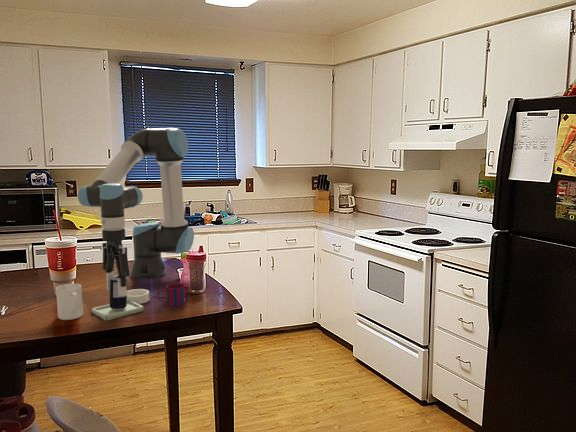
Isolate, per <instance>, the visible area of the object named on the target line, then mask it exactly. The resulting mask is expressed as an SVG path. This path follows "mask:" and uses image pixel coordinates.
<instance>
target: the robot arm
mask: <svg viewBox="0 0 576 432" xmlns="http://www.w3.org/2000/svg"><path fill="white" fill-rule="evenodd" d="M188 153H189V141H188V138H187V135H186V134H185V132H184V131H183V130H182V129H180V128H175V127H166V128H165V127H164V128H163V127H160V128H159V127H158V128H152V127H151V128H149V127H147V128H144V129H141V130H139V131H136V132H135V133H133V134H132V135H130V136H129V137H128V138H127V139H126V140H125V141H124V142H123V143H122V145H121V147H120V151H119V152H118V153H117V154H116V155H115V156H114V158H113V159H112V160H111V161H110V163H109V164H108V165H107V166H106V167H105V168H104V169H103V171H102V172H101V173H100V174H99V175H98V177H97V178H96V179H95V180H94V181H93V182H92V184H91V185H85V186H81V187H80V188H79V190H78V193H77V200H78V202H79V204H80V205H81V206H83V207H88V208H89V207H90V208H100V211H101V213H100V215H101V216H100V218H101V220H100V223H101V228H102V231H101V235H102V236H101V237H102V238H101V239H102V241H103V242H102V270H104V272H105V275H106V291H107V292H110V279H111V277H112V275H114V274H116V273H115V271H116V270H117V274H118V275H119V276H118V277H117V278H118V296H124V295H127V291H128V287H127V288H126V277H127V278H128V277H129V276H130V277H132V278H134V279H139V280H141V279H142V280H143V279H145V280H146V279H156V278H159V277H162V276H165V275H166V274H167V271H166V270H167V269H166V266H165V263H164V261H163V258H162V253H163V254H164V253H165V254H176V255H178V254H184V253H183V252H186V251H188V252H190V250H191V249H192V246H193V244H194V239H195V231H194V228H193V227H191V226H189V221H188V220H186V219H185V212H184V211H185V210H184V209H185V208H184V196H183V195H184V194H183V182H182V167H181V166H182V163H183V162H184V161H185V157H186V156H187V155H188ZM145 157H155V162H156V163H157V164H158V165H159V170H160V171H159V173H160V183H161V184H160V185H161V195H162V197H161V199H162V210H163V220H162V221H161V223H160V222H158V221H154V222H153V221H151V222H146V223H140V224H136V225H135V226H134V227H133V229H132V239H133V240H132V241H133V261H132V265H131V268H130V269H129V260H128V248H127V247H124V246H123V243H122V242H123V241H124V240H125V239H126V229H125V227H126V222H125V220H126V219H125V210H126V209H130V208H134V207H137V206H138V205H140V204H141V203H142V201H143V196H144V195H143V192H142V191H141V190H142V189H140V188H139V187H137V186H134V185H128V186H123V184H121V182H122V181H123V179H125V177H126V176H127V174H128V173H129V172H130V171H131V169H132V168H133V167H134V166H135V164H136V163H138V162H140V161H142V160H143V158H145ZM115 265H116V266H115ZM114 267H116V269H115V268H114Z"/></svg>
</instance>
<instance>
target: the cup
mask: <svg viewBox="0 0 576 432" xmlns="http://www.w3.org/2000/svg"><path fill="white" fill-rule="evenodd" d="M185 287H186V286H185V284H184V283H177V282H176V283H169V284H166V287H165V288H161V289H158V291H157V299H158V300H159V302H161V303H164V304H166V305H167V306H168V307H181V306H183V305H185V304H186V289H185ZM161 291H164V292H165V294H166V297H165V298H166V300H162V299H161V298H160V293H161Z"/></svg>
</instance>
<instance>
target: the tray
mask: <svg viewBox="0 0 576 432" xmlns="http://www.w3.org/2000/svg"><path fill="white" fill-rule="evenodd" d="M144 307H145V306H143V305H142V304H137V303H135V302H133V301H131V300H127V306H126V307H125V308H124V309H123V310H119V311H116V310H112V309H111V308H110V303H108V304H104V305H101V306H95V307H92V308H91V313H92V314H93V315H95V316H97V317H99V318H100V319H101V320H104V321H109V320H113V319H114V320H115V319H119V318H122V317H125V316H130V315H134V314H137V313H141V312H143V311H145V309H144Z"/></svg>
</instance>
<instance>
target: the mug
mask: <svg viewBox="0 0 576 432" xmlns="http://www.w3.org/2000/svg"><path fill="white" fill-rule="evenodd" d="M55 293H56V295H55V296H56V306H57V317H58V319H59V320H62V321H69V320H76V319H79V318H81V317H82V316H83V315H84V310H83V308H84V307H83V292H82V285H81V284H79V283H64V284H60V285H58V286H56V288H55Z"/></svg>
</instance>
